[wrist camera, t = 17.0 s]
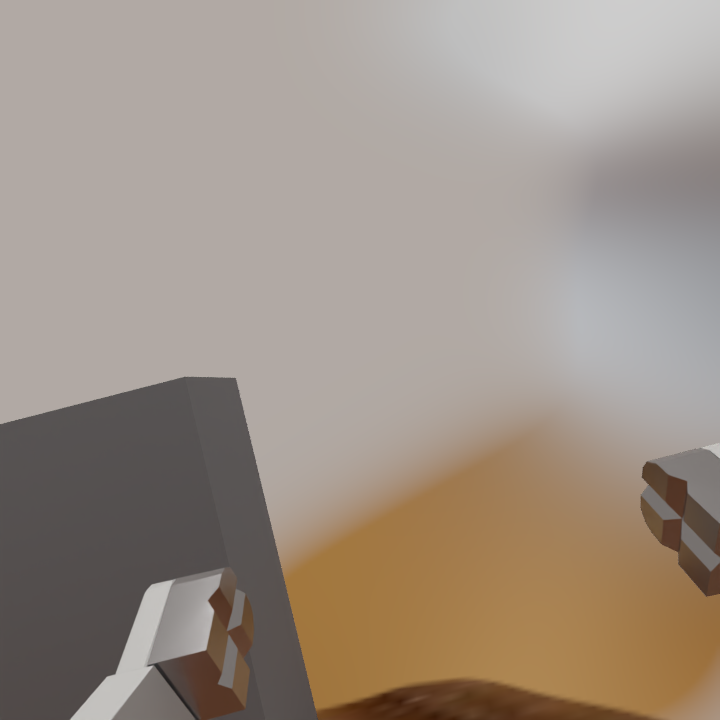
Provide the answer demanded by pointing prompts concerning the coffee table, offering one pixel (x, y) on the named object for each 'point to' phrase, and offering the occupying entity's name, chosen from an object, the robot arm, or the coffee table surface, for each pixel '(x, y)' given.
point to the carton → (133, 542)
